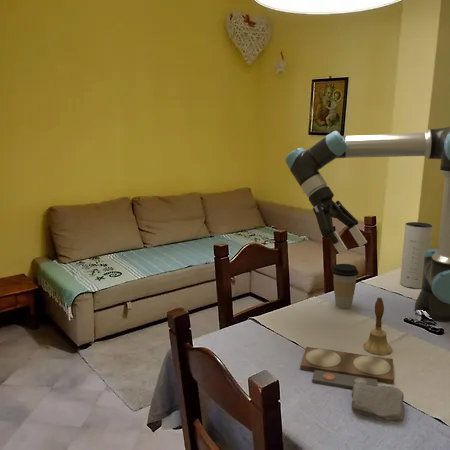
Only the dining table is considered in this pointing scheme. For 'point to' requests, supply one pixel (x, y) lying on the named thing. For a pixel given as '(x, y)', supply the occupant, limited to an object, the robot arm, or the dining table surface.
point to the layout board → (348, 364)
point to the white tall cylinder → (415, 253)
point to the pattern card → (340, 379)
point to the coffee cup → (344, 284)
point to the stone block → (378, 401)
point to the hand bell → (378, 334)
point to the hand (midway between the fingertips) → (354, 248)
